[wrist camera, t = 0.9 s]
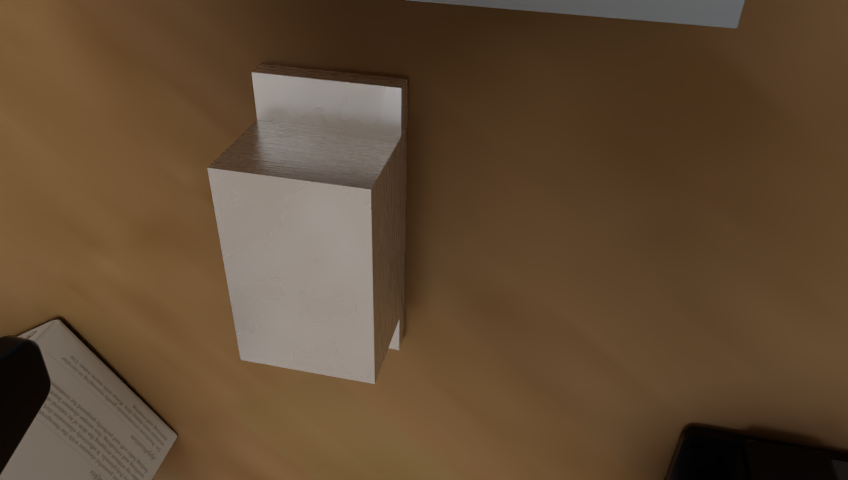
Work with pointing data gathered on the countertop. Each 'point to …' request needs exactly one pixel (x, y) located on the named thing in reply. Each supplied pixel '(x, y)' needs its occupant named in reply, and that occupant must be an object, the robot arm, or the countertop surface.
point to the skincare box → (87, 420)
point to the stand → (627, 9)
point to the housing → (317, 221)
